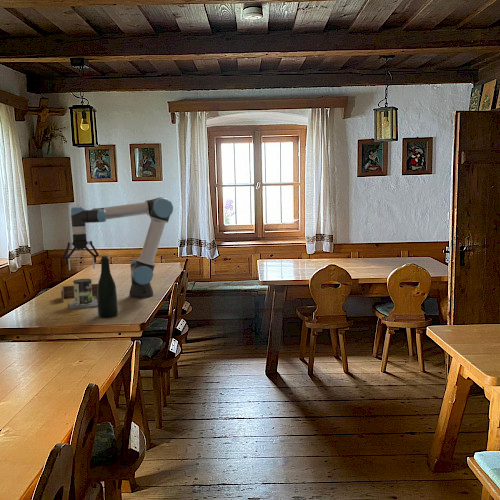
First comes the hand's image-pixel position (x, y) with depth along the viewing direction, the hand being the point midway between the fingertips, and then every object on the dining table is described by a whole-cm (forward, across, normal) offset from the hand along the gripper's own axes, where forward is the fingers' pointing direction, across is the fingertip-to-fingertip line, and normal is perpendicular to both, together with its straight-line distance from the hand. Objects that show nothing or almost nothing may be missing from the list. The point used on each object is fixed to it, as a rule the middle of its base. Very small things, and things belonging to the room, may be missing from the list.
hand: (81, 269), depth 299 cm
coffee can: (+21, 0, 0) cm, 21 cm away
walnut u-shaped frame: (+22, 0, -20) cm, 30 cm away
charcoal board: (+22, 0, 0) cm, 22 cm away
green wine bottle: (+22, -12, +31) cm, 40 cm away
